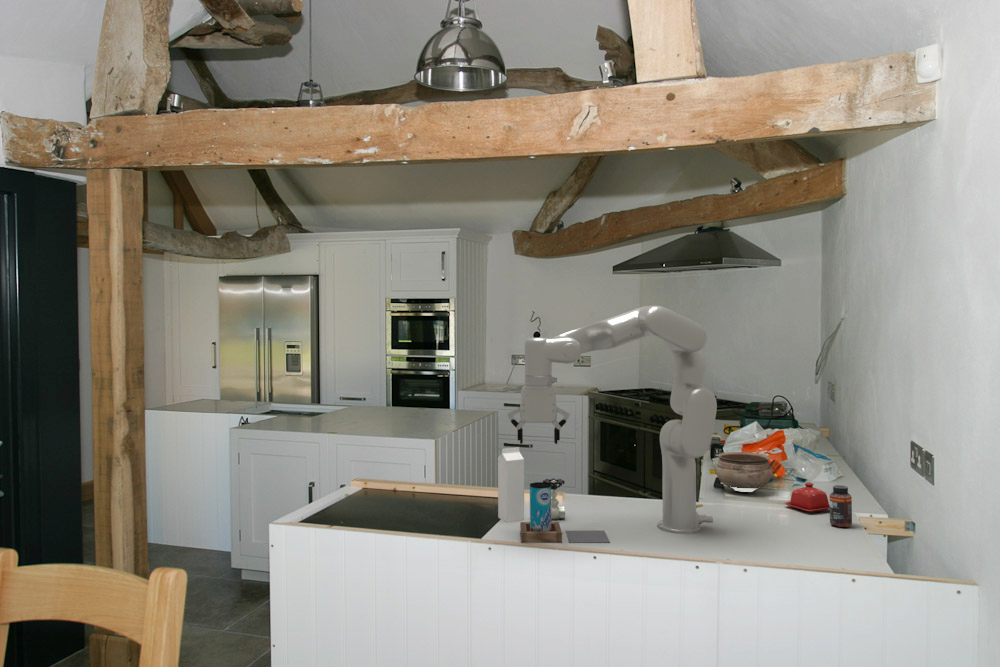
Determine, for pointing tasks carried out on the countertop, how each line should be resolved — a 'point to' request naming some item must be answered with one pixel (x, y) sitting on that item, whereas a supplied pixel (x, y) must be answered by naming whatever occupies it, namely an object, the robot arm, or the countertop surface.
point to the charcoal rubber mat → (587, 536)
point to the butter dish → (809, 499)
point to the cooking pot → (744, 469)
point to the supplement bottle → (840, 507)
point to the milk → (511, 485)
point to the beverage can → (540, 507)
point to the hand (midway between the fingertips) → (538, 443)
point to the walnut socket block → (541, 534)
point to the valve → (555, 510)
